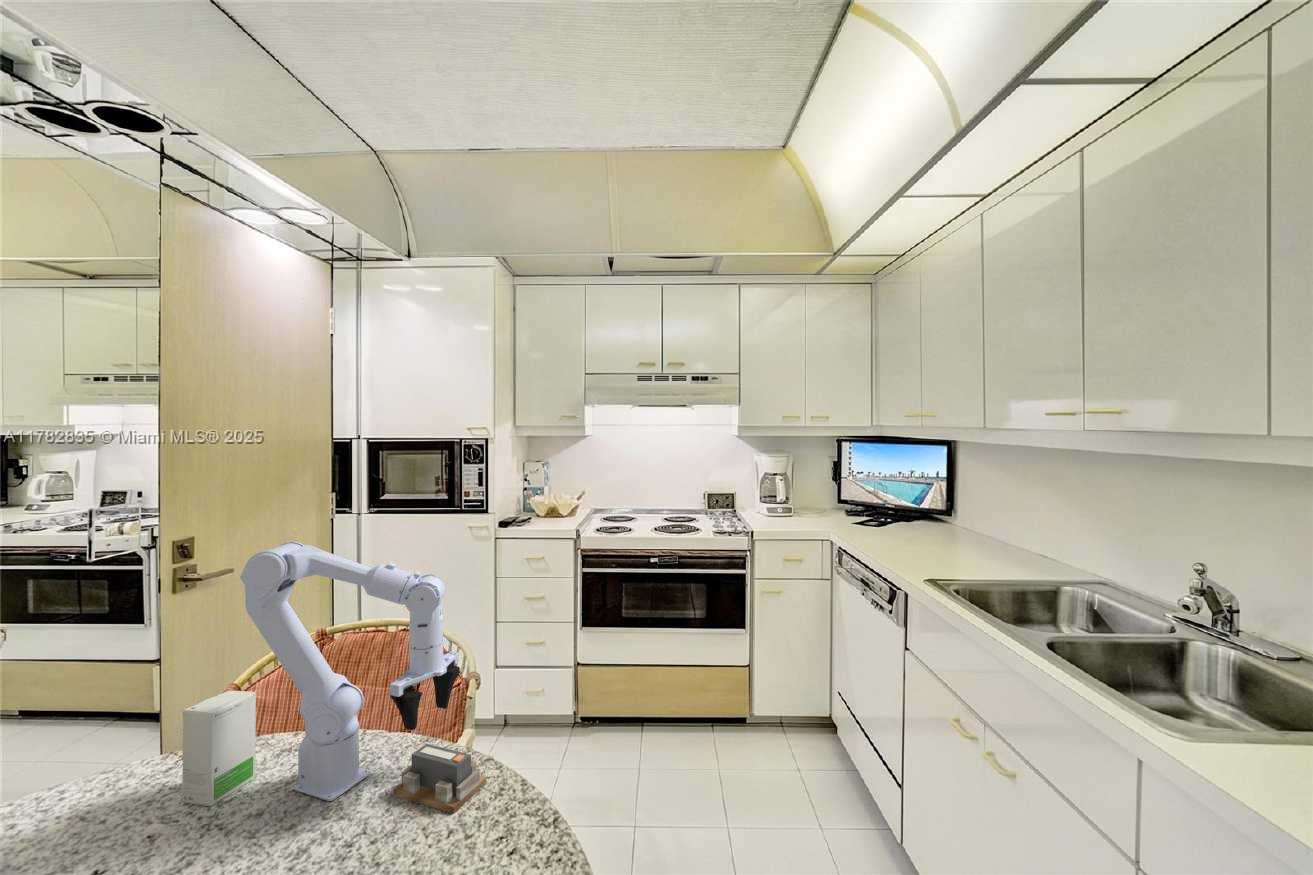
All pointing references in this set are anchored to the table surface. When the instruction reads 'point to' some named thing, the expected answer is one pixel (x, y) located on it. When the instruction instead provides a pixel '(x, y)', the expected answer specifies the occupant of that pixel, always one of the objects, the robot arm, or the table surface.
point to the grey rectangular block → (441, 766)
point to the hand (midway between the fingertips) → (426, 717)
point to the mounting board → (439, 790)
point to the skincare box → (218, 747)
